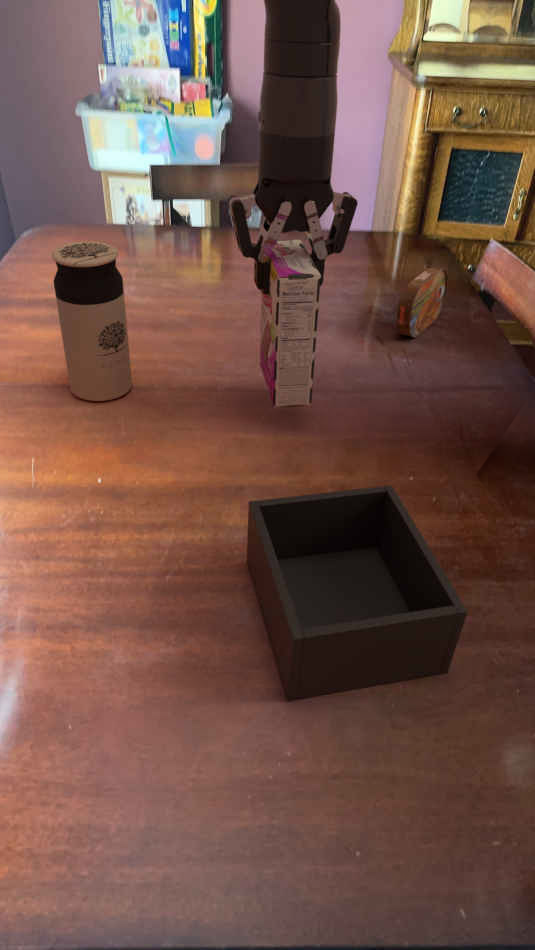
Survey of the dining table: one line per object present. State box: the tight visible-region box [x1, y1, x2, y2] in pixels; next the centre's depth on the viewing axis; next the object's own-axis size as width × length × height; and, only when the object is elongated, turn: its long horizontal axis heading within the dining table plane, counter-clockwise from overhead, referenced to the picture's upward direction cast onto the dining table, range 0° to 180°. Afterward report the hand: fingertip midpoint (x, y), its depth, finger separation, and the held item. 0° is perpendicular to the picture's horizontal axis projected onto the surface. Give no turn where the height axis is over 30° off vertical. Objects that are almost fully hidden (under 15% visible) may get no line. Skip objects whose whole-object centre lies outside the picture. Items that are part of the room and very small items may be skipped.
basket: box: [246, 484, 469, 702], centre depth 58 cm, size 14×16×8 cm
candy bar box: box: [259, 239, 321, 409], centre depth 80 cm, size 11×5×16 cm, turn 9°
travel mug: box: [51, 240, 133, 402], centre depth 83 cm, size 8×8×18 cm
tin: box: [395, 267, 449, 339], centre depth 106 cm, size 15×3×8 cm, turn 147°
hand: (288, 289), depth 77 cm, fingers closed on candy bar box, 5 cm apart
